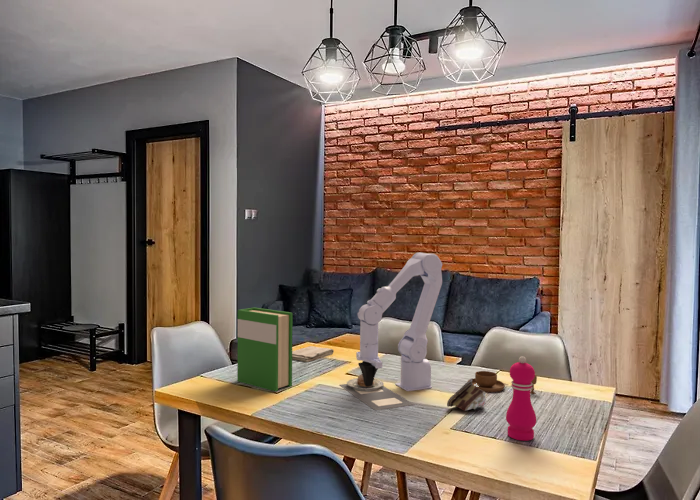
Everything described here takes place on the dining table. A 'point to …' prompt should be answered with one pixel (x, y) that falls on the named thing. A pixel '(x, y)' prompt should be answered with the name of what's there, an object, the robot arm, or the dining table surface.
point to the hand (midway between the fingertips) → (368, 385)
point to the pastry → (360, 386)
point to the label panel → (379, 398)
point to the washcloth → (311, 353)
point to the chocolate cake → (468, 397)
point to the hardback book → (265, 348)
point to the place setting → (493, 382)
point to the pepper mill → (521, 402)
